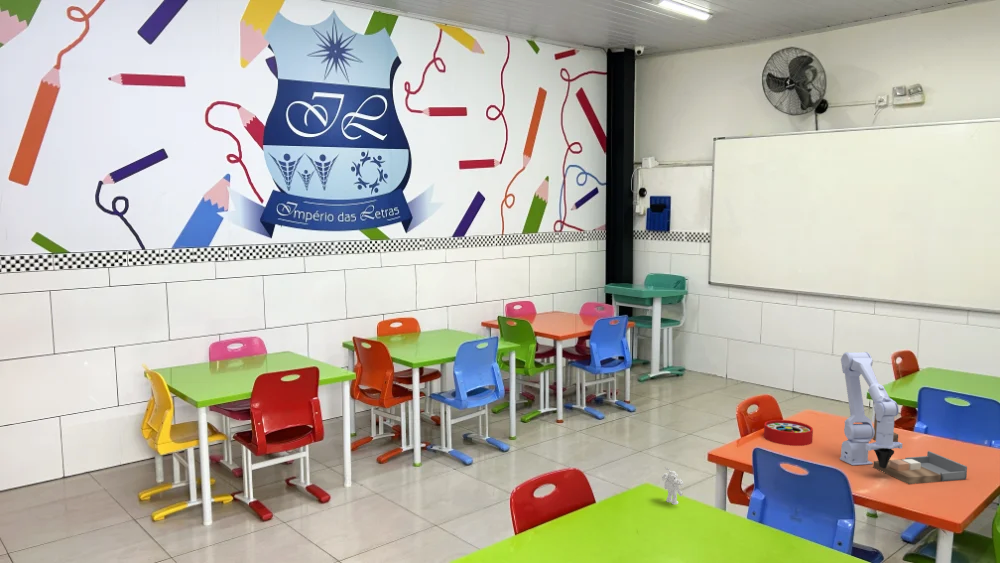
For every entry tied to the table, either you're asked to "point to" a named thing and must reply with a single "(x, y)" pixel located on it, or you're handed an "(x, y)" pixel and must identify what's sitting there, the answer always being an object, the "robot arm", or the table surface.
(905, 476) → the walnut board
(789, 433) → the toy clock
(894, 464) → the terracotta tile
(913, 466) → the cream tile
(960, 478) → the gray box
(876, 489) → the table surface
